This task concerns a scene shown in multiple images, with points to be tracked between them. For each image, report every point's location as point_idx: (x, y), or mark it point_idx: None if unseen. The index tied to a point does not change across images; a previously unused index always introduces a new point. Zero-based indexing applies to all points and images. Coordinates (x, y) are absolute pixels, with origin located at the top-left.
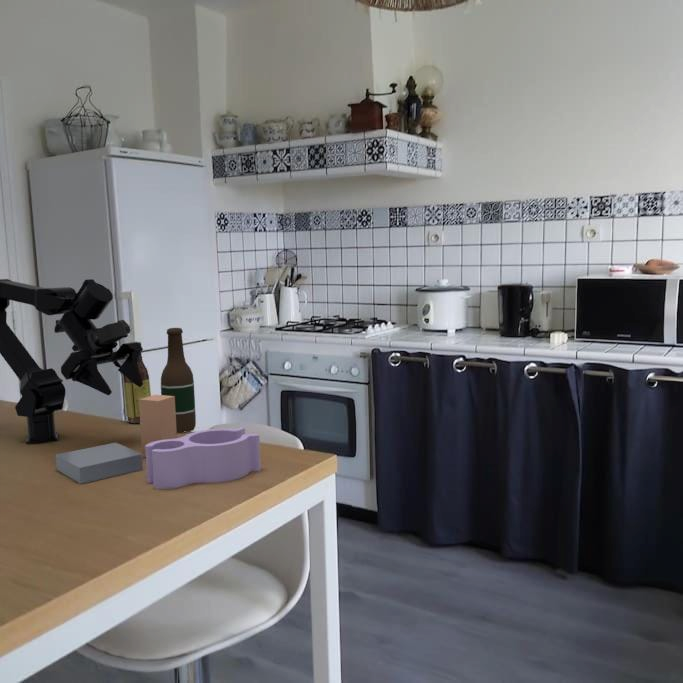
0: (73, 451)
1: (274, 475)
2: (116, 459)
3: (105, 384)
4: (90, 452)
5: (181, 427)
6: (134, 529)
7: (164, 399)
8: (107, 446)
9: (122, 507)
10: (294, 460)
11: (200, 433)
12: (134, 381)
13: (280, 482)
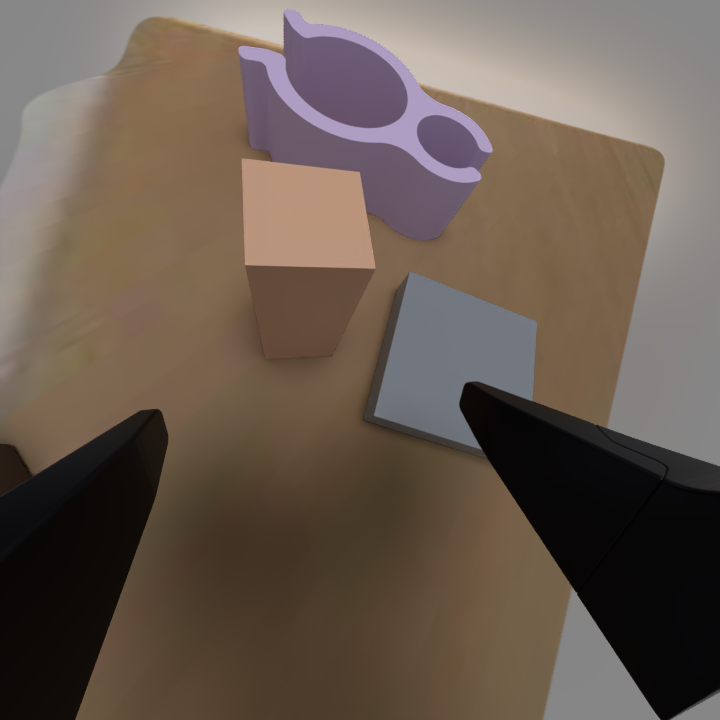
0: None
1: None
2: (464, 294)
3: (525, 401)
4: None
5: (2, 451)
6: (543, 157)
7: (319, 168)
8: (412, 401)
9: (519, 206)
10: (207, 65)
11: (337, 122)
12: (144, 500)
13: None
